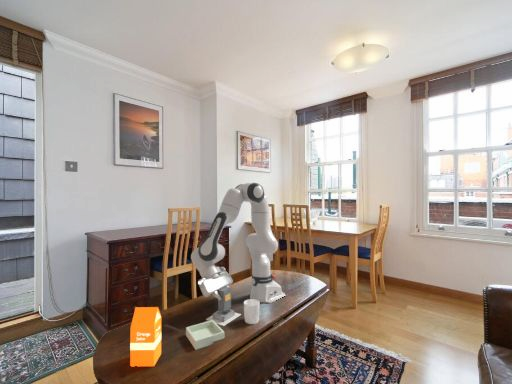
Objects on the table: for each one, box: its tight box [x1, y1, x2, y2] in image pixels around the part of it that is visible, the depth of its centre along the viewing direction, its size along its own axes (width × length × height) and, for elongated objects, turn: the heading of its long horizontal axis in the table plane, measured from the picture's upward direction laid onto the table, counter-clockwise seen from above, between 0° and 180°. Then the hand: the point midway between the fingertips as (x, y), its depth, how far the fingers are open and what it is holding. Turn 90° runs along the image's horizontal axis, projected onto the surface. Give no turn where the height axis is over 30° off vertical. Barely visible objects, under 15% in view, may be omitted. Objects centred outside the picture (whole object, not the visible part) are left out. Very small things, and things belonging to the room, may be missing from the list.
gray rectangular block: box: [217, 286, 232, 311], centre depth 131 cm, size 6×4×10 cm
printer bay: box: [205, 308, 242, 327], centre depth 130 cm, size 14×12×4 cm
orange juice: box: [129, 306, 162, 368], centre depth 98 cm, size 8×9×20 cm
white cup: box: [243, 298, 261, 325], centre depth 127 cm, size 8×8×10 cm
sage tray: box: [185, 320, 226, 351], centre depth 113 cm, size 13×13×4 cm
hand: (225, 297), depth 130 cm, fingers closed on gray rectangular block, 5 cm apart
